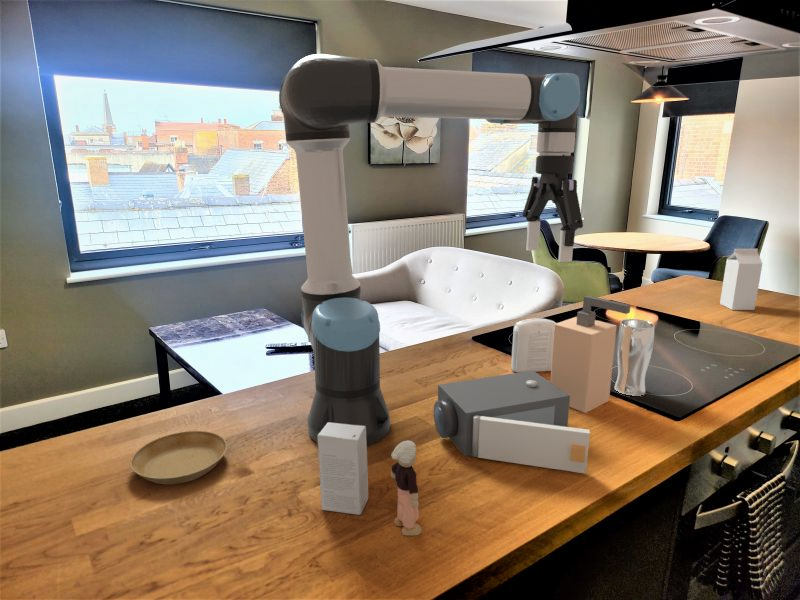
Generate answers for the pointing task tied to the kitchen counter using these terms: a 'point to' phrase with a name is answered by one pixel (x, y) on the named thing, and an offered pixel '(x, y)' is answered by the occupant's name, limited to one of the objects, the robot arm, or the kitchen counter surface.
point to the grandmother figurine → (406, 488)
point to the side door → (530, 443)
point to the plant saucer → (179, 457)
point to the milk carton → (741, 280)
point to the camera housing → (497, 404)
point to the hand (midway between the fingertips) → (547, 255)
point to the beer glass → (633, 355)
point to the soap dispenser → (585, 355)
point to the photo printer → (532, 345)
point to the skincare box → (343, 468)
